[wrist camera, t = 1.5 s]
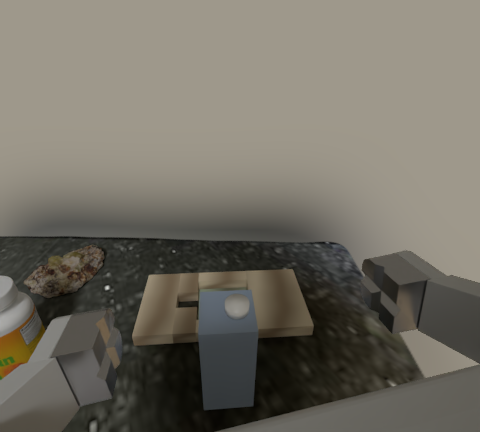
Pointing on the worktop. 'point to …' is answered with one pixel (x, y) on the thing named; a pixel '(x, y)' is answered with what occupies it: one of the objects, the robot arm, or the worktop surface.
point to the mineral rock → (66, 272)
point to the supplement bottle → (17, 327)
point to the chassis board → (188, 285)
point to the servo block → (227, 348)
